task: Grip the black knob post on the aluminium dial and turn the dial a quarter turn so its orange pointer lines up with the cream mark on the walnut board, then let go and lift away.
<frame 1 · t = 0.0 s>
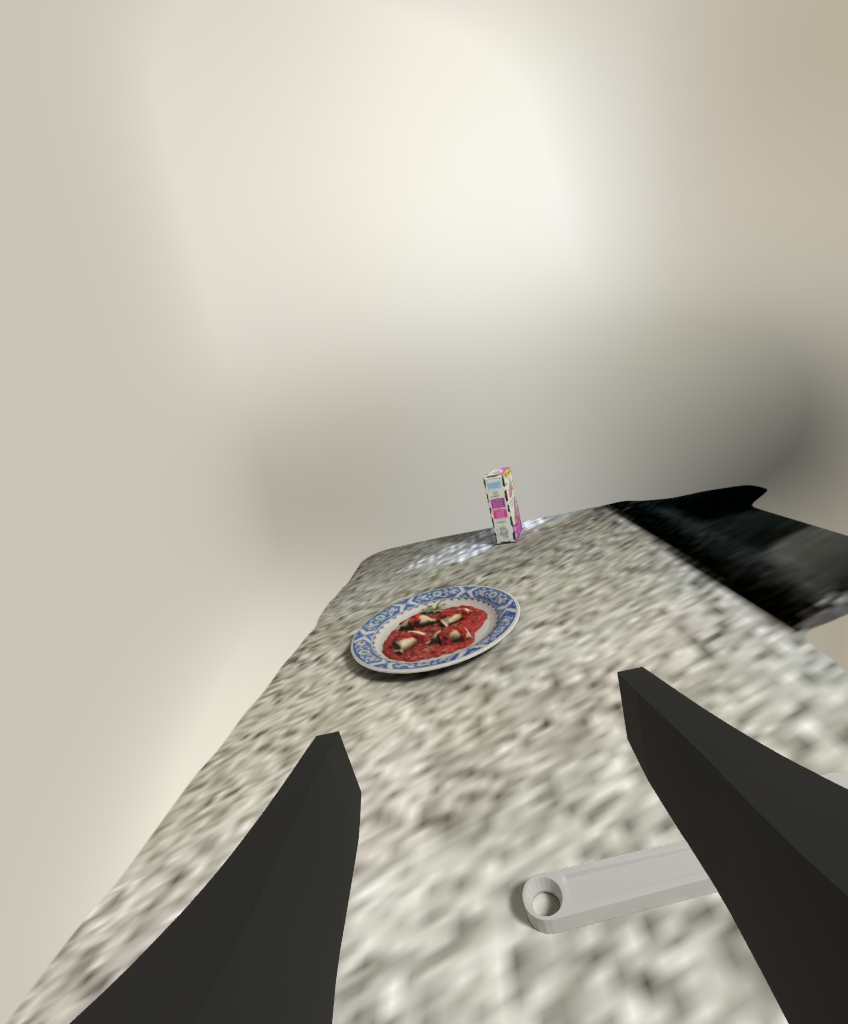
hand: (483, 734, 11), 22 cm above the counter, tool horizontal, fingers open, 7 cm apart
ceramic plate: (437, 635, 65), on the counter
candy bar box: (511, 537, 105), on the counter
adjustable wrench: (726, 861, 27), on the counter
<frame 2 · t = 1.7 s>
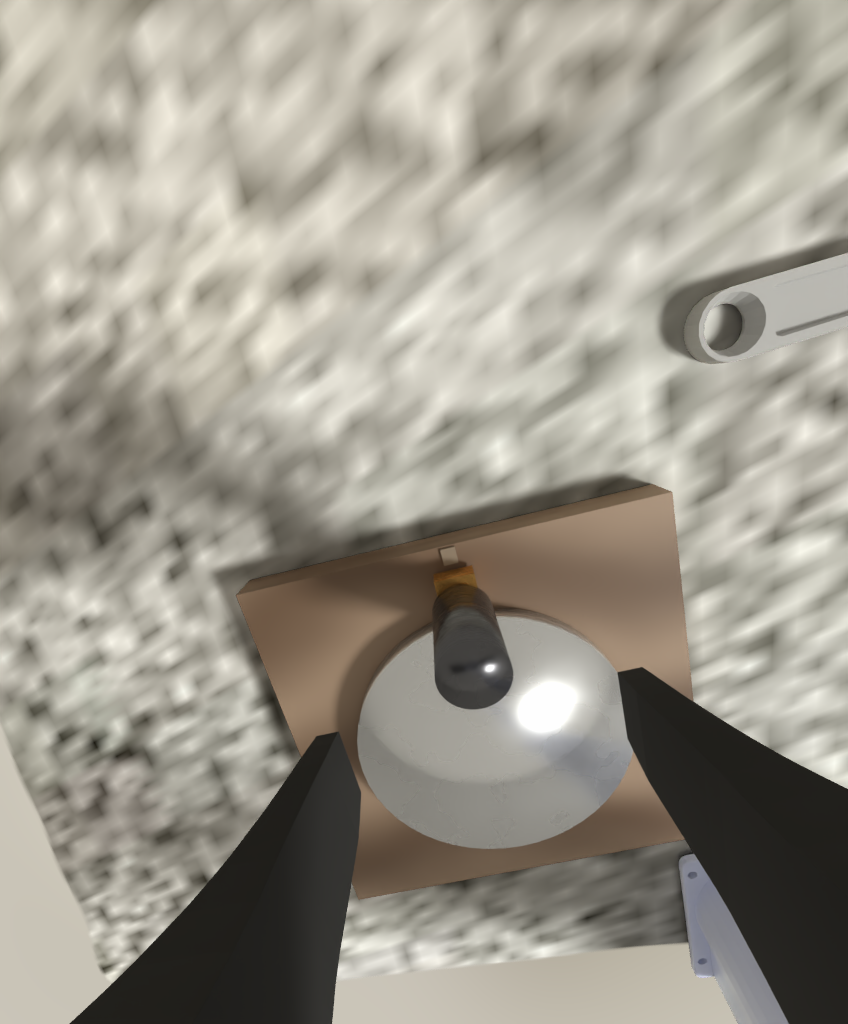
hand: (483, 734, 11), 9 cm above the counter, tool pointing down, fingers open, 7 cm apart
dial: (496, 753, 17), point 4 cm above the counter, hinge at 0.0°
dial board: (487, 703, 21), on the counter
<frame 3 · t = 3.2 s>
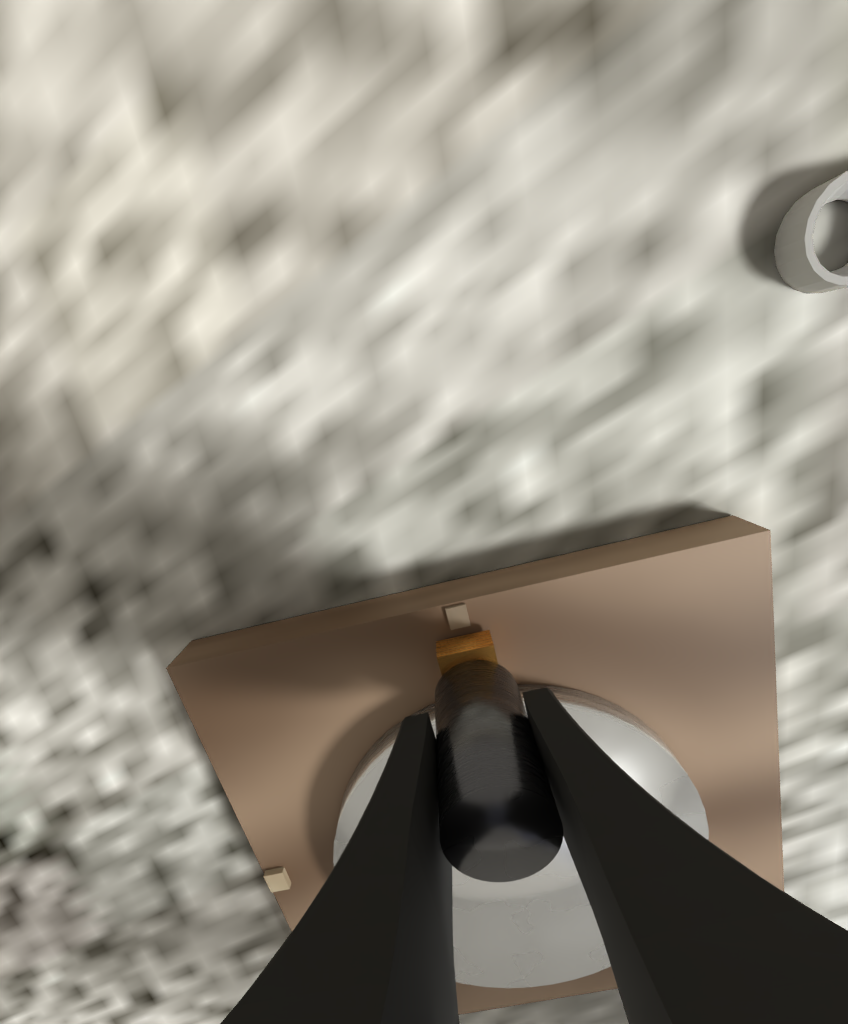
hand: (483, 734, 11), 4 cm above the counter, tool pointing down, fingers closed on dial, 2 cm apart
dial: (524, 893, 12), point 4 cm above the counter, hinge at 0.0°, touching gripper
dial board: (505, 792, 16), on the counter
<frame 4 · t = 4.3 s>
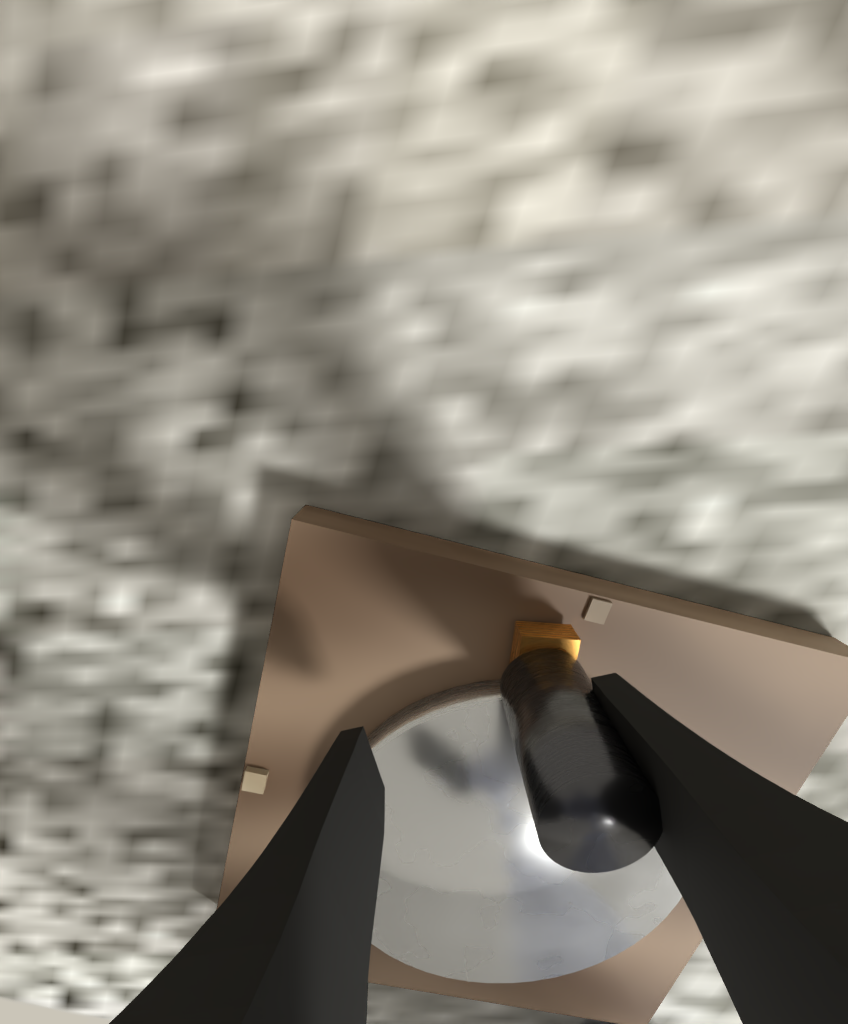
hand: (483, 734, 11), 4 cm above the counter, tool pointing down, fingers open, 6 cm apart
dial: (527, 888, 12), point 4 cm above the counter, hinge at 10.6°, touching gripper
dial board: (497, 788, 16), on the counter
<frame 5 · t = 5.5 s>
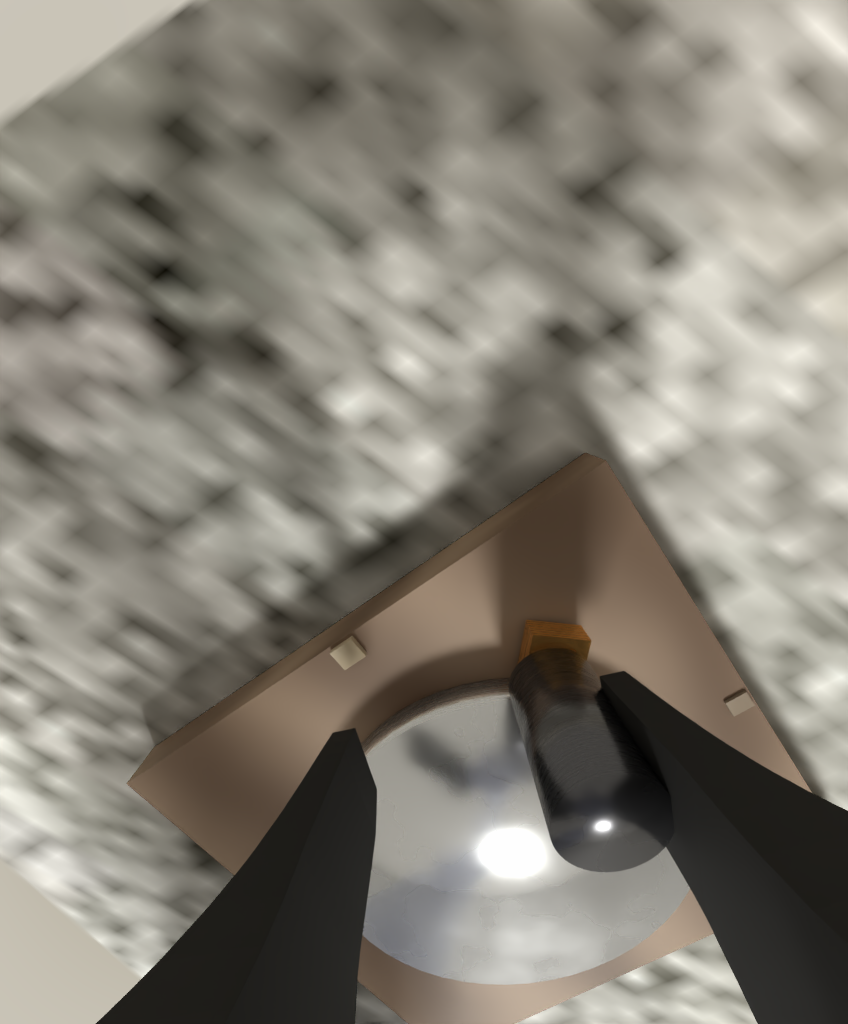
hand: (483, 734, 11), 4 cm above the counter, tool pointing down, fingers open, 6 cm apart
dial: (529, 888, 12), point 4 cm above the counter, hinge at 47.5°, touching gripper
dial board: (499, 788, 16), on the counter
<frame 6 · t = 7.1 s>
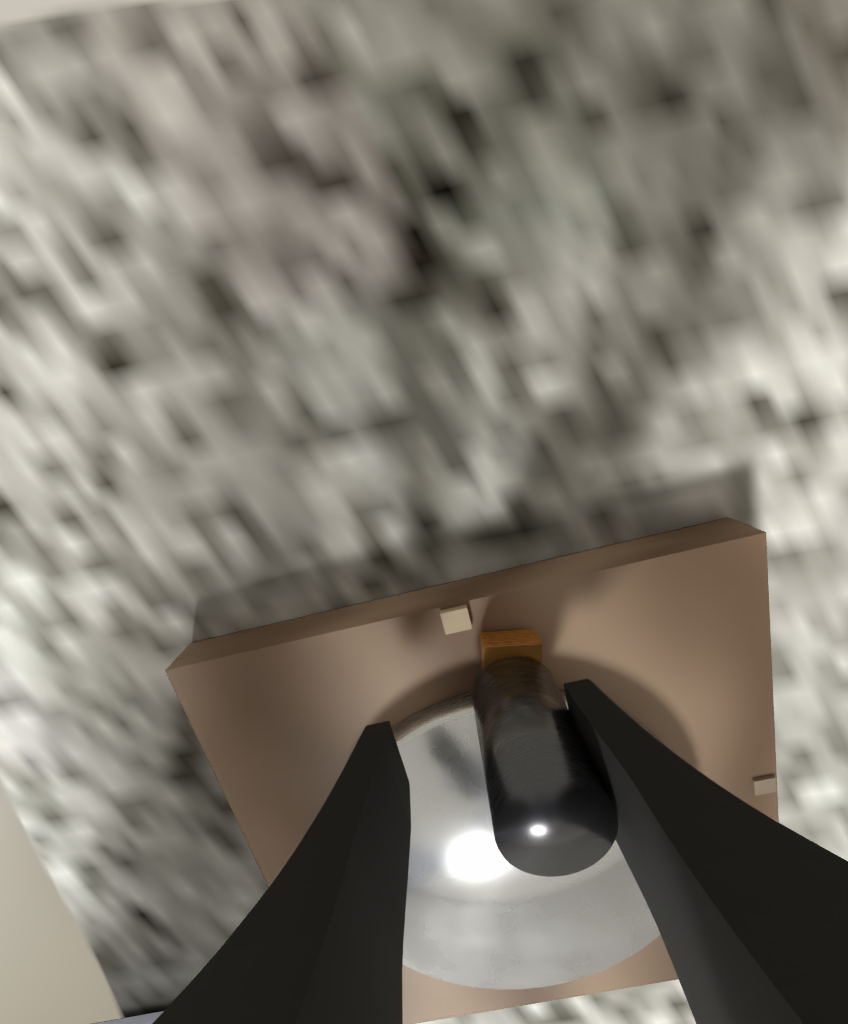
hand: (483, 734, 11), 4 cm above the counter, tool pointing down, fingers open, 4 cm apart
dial: (528, 893, 12), point 4 cm above the counter, hinge at 80.1°, touching gripper
dial board: (503, 794, 16), on the counter
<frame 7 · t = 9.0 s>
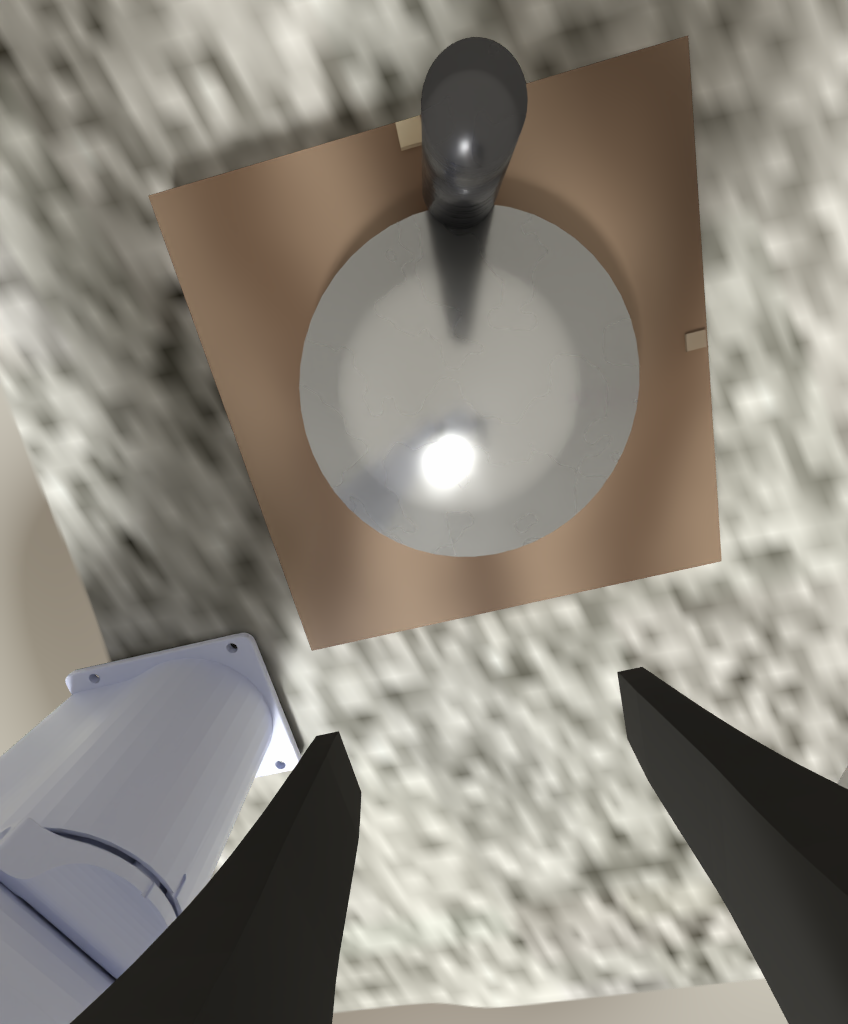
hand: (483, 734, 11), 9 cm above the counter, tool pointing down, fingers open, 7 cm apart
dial: (472, 366, 14), point 4 cm above the counter, hinge at 80.3°
dial board: (462, 397, 18), on the counter
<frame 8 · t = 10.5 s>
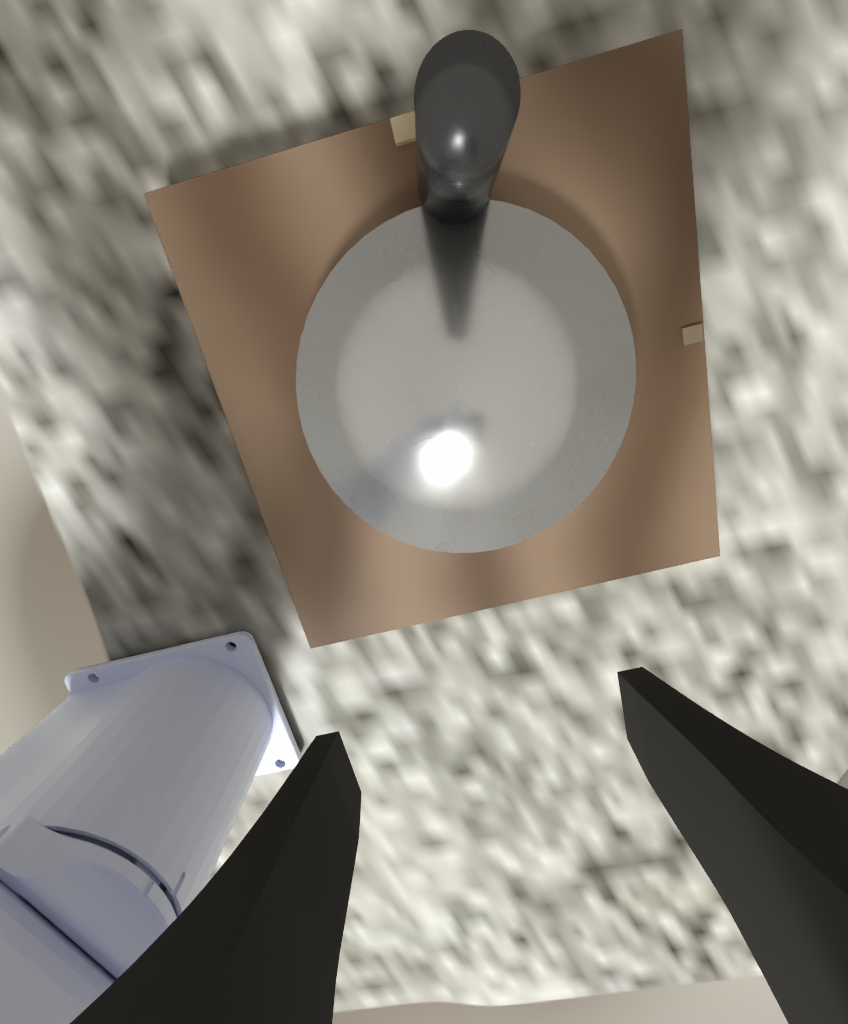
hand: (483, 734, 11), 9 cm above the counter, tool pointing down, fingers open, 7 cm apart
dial: (468, 361, 14), point 4 cm above the counter, hinge at 80.3°
dial board: (459, 394, 18), on the counter
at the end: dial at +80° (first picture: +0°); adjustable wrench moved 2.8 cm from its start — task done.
